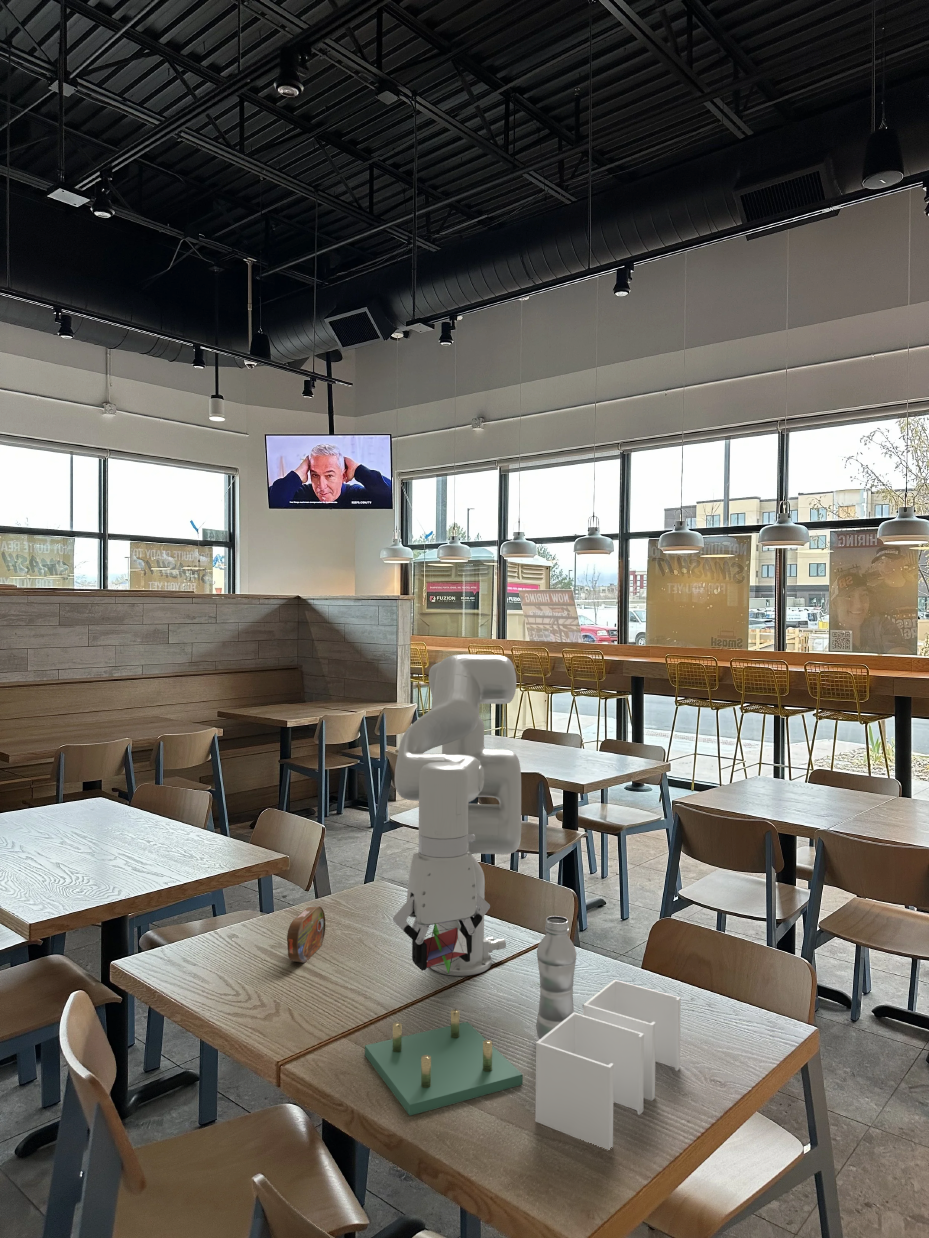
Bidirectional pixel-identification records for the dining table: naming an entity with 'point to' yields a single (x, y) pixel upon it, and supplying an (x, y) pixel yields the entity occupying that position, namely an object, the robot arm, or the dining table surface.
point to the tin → (306, 934)
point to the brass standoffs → (427, 1059)
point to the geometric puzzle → (445, 947)
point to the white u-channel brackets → (605, 1059)
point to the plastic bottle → (555, 975)
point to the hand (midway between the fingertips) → (442, 961)
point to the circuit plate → (441, 1068)
